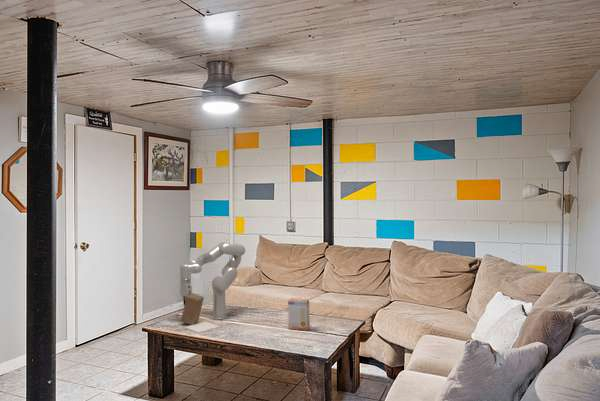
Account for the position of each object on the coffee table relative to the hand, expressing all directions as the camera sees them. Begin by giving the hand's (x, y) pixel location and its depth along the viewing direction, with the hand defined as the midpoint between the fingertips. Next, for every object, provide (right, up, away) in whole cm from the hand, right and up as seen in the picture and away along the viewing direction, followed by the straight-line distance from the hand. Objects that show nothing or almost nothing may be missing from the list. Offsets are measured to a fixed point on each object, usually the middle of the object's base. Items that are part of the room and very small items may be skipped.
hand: (186, 305), depth 327 cm
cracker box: (+85, -12, -19) cm, 88 cm away
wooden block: (+3, -12, -3) cm, 13 cm away
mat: (+15, -13, -13) cm, 24 cm away
